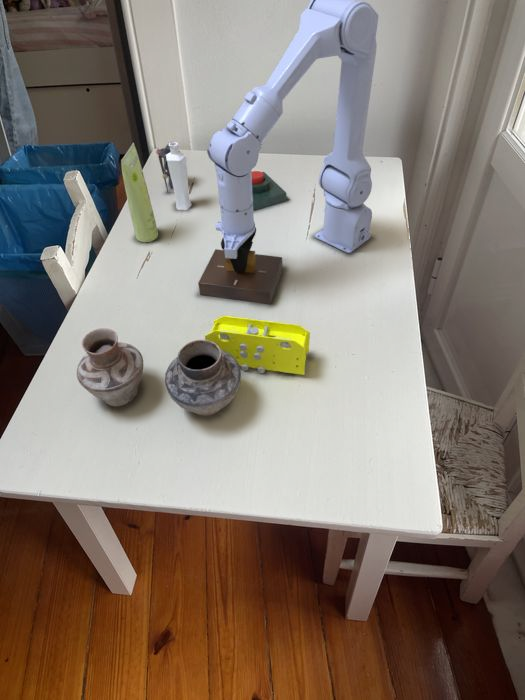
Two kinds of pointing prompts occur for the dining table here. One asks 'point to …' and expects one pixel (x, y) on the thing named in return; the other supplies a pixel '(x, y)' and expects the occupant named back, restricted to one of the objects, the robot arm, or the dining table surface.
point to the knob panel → (241, 279)
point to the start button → (257, 177)
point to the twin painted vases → (181, 376)
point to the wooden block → (250, 263)
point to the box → (267, 193)
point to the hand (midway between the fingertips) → (241, 267)
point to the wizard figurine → (165, 164)
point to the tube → (138, 197)
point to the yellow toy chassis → (262, 343)
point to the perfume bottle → (179, 176)
